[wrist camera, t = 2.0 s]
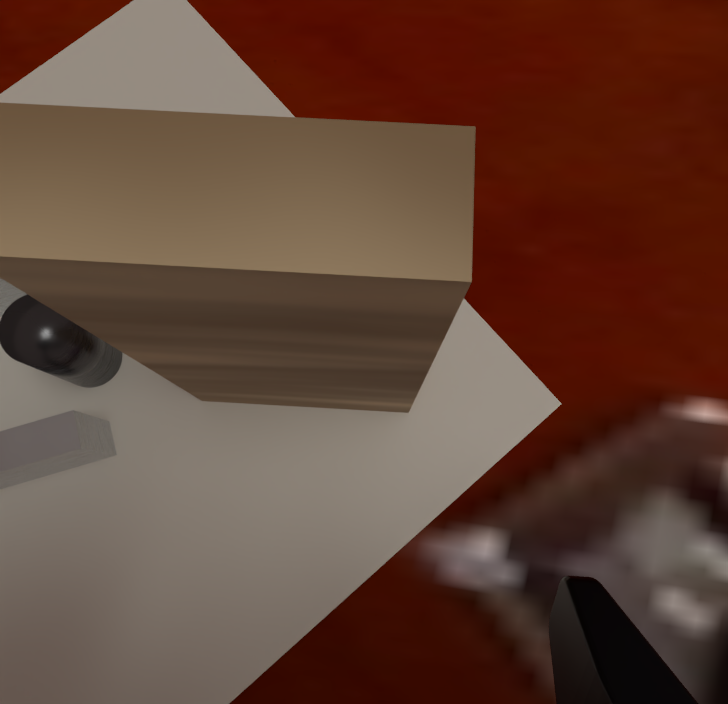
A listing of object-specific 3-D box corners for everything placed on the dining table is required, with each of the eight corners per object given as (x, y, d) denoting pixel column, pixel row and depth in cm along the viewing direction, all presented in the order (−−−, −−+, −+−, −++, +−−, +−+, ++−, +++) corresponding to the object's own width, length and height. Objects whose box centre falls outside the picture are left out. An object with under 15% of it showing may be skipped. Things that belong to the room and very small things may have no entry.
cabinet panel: (-91, 987, 17) (-118, 1017, 16) (-431, 428, 21) (-470, 424, 20) (552, 408, 21) (561, 403, 20) (173, -1, 24) (165, -23, 23)
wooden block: (408, 412, 20) (471, 282, 8) (201, 400, 20) (-39, 254, 8) (412, 319, 20) (476, 68, 8) (211, 308, 20) (2, 44, 9)
